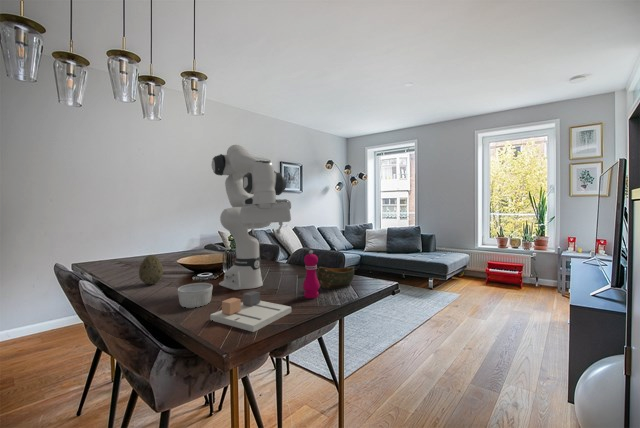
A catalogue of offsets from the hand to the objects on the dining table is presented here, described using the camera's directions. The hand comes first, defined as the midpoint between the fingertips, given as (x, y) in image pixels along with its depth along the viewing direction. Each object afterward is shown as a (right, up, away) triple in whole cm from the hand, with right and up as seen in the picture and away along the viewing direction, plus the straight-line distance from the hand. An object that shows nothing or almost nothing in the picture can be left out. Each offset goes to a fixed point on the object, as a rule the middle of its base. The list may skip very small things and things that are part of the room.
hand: (266, 234), depth 121 cm
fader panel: (-3, -28, -13) cm, 32 cm away
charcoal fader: (-4, -26, -7) cm, 27 cm away
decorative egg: (-65, -28, +33) cm, 78 cm away
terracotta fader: (-10, -26, -15) cm, 32 cm away
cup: (+28, -27, +25) cm, 47 cm away
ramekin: (-29, -29, +1) cm, 41 cm away
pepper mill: (+18, -28, +9) cm, 34 cm away
